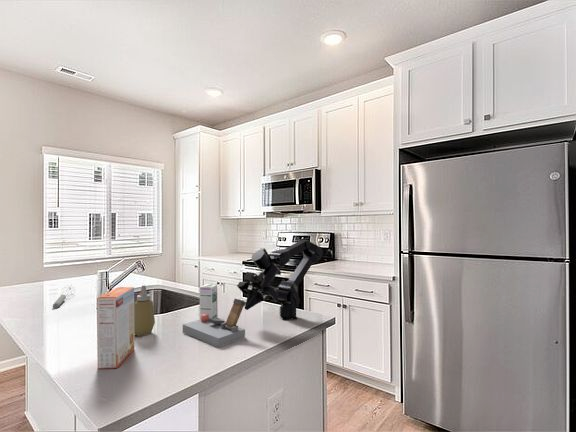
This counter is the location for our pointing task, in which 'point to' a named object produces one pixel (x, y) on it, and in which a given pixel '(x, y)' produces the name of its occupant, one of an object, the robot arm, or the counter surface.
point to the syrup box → (208, 300)
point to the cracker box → (115, 327)
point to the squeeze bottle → (143, 314)
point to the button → (204, 317)
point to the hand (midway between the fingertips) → (245, 309)
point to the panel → (213, 332)
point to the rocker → (215, 321)
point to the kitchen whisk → (61, 299)
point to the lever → (234, 313)
